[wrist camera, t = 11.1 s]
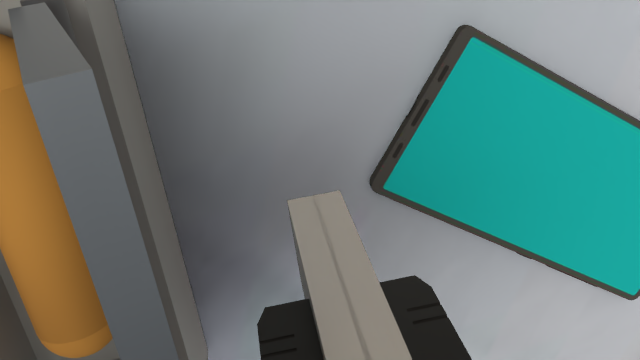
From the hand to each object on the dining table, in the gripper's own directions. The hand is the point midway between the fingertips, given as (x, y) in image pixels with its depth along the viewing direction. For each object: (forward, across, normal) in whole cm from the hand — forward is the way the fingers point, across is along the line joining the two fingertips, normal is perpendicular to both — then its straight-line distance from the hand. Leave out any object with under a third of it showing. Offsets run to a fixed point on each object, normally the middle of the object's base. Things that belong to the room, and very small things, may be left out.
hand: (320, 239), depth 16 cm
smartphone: (+8, +11, -4) cm, 14 cm away
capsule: (+6, -9, 0) cm, 10 cm away
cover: (-2, -5, 0) cm, 6 cm away
